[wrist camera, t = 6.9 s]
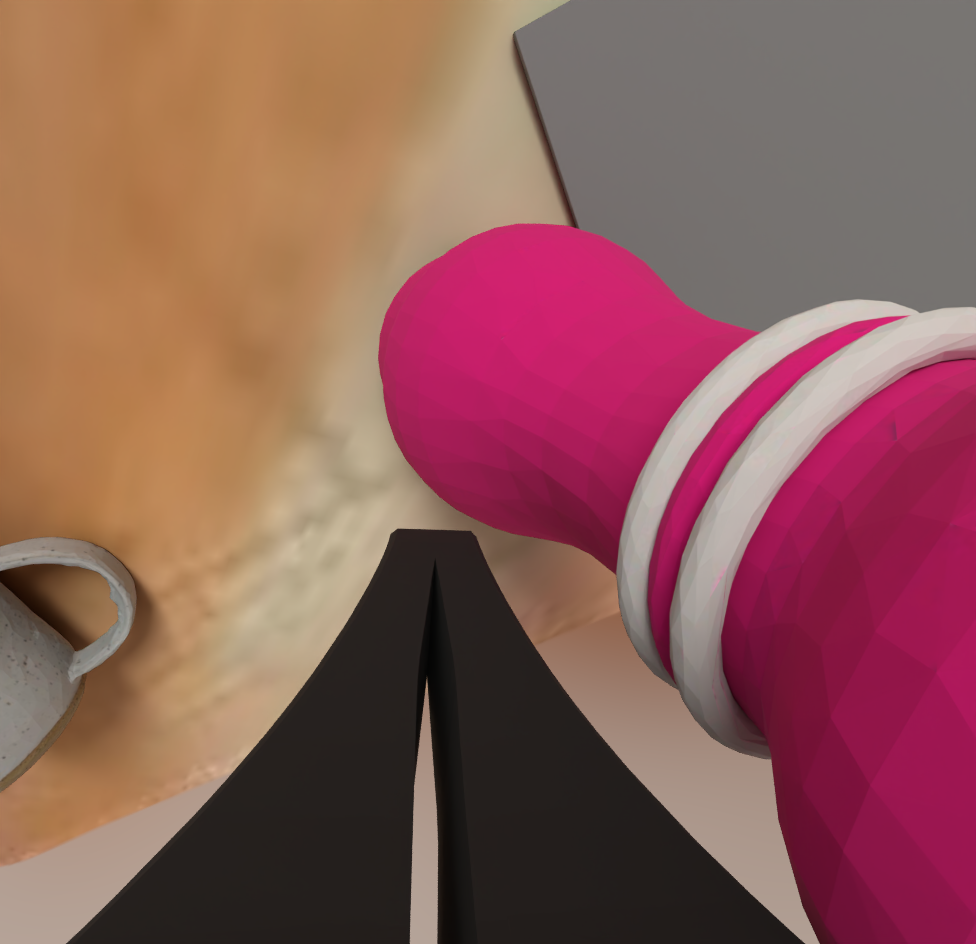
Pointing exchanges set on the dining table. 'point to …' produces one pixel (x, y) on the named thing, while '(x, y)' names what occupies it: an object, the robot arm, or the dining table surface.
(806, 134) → the mat
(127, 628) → the ceramic mug
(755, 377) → the pepper mill
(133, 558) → the dining table surface
